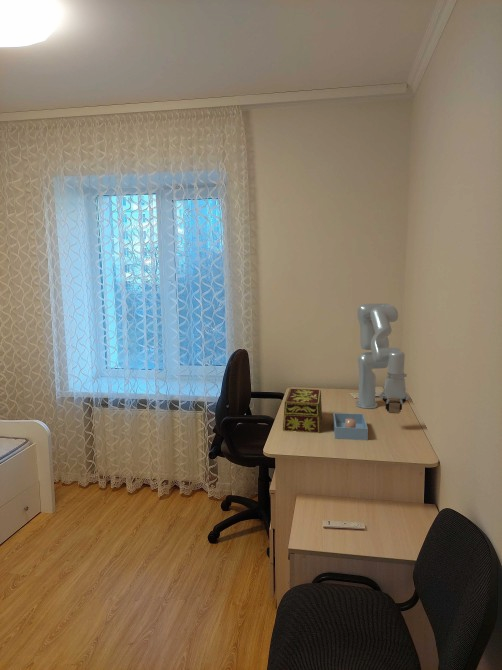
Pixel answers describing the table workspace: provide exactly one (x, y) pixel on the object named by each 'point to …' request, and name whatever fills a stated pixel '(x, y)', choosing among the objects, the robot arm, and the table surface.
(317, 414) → the decorative box
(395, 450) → the table surface
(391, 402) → the walnut block
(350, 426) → the canister
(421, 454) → the table surface
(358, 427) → the tote
